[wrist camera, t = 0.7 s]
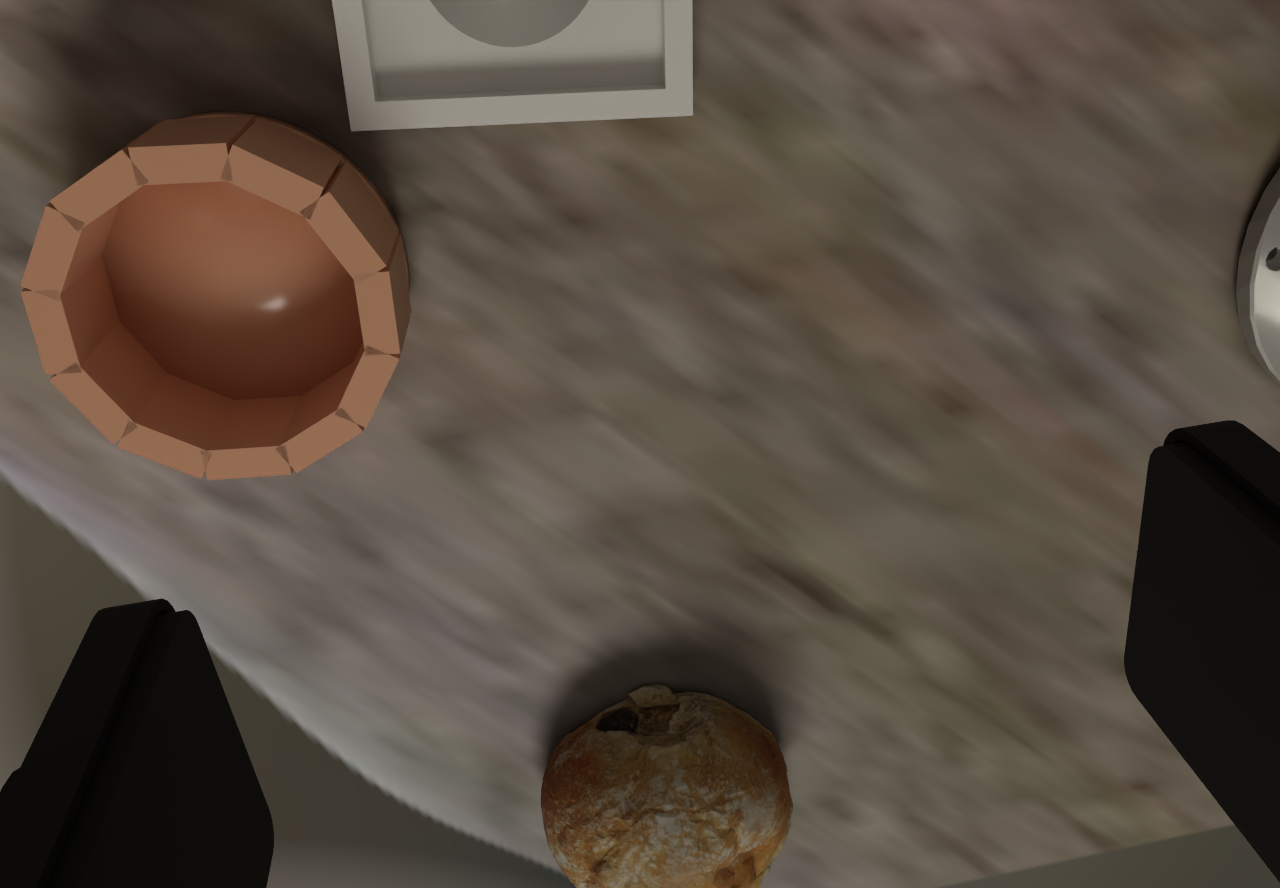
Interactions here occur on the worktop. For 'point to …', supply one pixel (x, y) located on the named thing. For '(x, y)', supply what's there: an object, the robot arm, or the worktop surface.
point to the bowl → (221, 296)
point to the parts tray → (513, 67)
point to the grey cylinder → (510, 19)
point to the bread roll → (667, 795)
